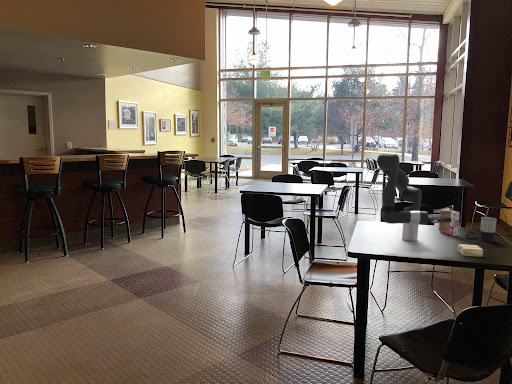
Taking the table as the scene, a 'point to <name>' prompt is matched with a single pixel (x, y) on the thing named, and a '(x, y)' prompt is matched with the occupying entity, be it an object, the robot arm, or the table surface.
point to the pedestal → (470, 250)
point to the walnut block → (446, 225)
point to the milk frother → (485, 230)
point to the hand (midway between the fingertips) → (450, 219)
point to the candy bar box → (453, 224)
